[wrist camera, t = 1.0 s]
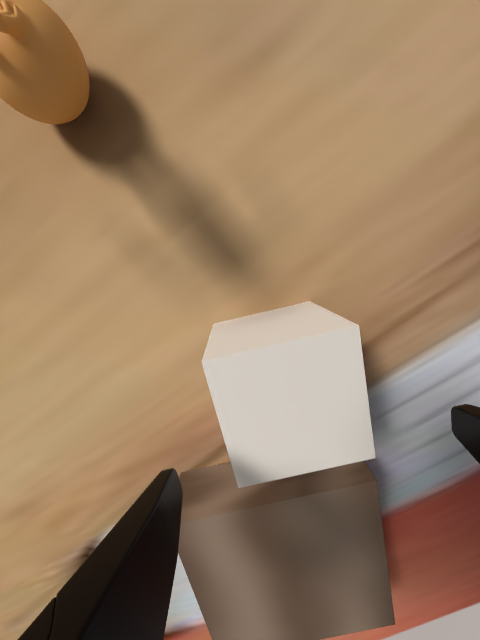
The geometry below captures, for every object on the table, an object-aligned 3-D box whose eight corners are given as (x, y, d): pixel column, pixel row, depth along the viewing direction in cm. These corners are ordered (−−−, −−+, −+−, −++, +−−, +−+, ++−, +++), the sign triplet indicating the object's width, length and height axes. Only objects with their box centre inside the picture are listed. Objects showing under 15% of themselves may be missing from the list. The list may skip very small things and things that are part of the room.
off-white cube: (309, 300, 15) (358, 325, 9) (324, 387, 16) (375, 458, 10) (213, 323, 15) (201, 361, 9) (236, 407, 16) (238, 488, 11)
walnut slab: (344, 431, 17) (376, 480, 14) (363, 554, 20) (395, 624, 16) (182, 468, 18) (167, 525, 14) (222, 584, 20) (220, 659, 17)
